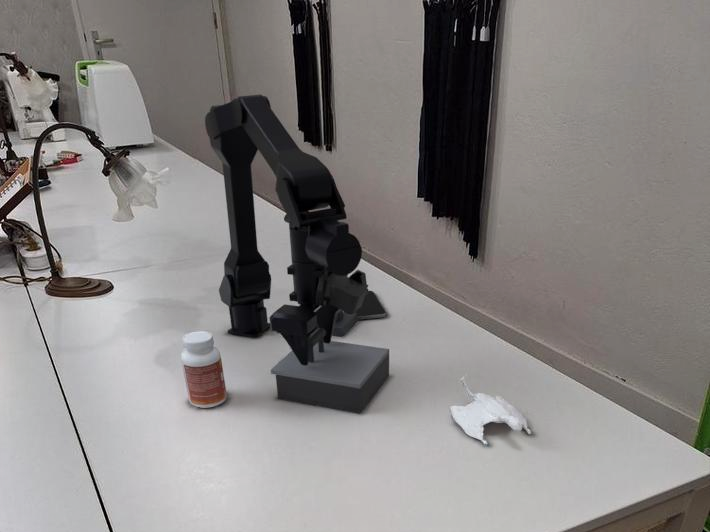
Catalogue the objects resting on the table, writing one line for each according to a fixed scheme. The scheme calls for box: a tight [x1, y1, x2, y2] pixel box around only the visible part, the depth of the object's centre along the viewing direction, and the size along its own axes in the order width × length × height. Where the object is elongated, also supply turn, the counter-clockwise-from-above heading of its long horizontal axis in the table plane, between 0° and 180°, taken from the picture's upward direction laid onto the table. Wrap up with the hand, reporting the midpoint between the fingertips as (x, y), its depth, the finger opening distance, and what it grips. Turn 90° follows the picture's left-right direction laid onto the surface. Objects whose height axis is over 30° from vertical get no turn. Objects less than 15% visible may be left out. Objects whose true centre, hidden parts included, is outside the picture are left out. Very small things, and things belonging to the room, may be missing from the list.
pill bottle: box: [180, 330, 228, 409], centre depth 104 cm, size 6×6×11 cm
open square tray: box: [275, 353, 390, 414], centre depth 108 cm, size 15×14×4 cm
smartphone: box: [355, 290, 387, 321], centre depth 139 cm, size 8×1×15 cm
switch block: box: [315, 309, 358, 337], centre depth 130 cm, size 10×8×4 cm
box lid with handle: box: [270, 328, 390, 389], centre depth 106 cm, size 15×14×5 cm
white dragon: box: [450, 374, 532, 446], centre depth 99 cm, size 18×10×4 cm, turn 21°
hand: (316, 353), depth 107 cm, fingers open, 9 cm apart
